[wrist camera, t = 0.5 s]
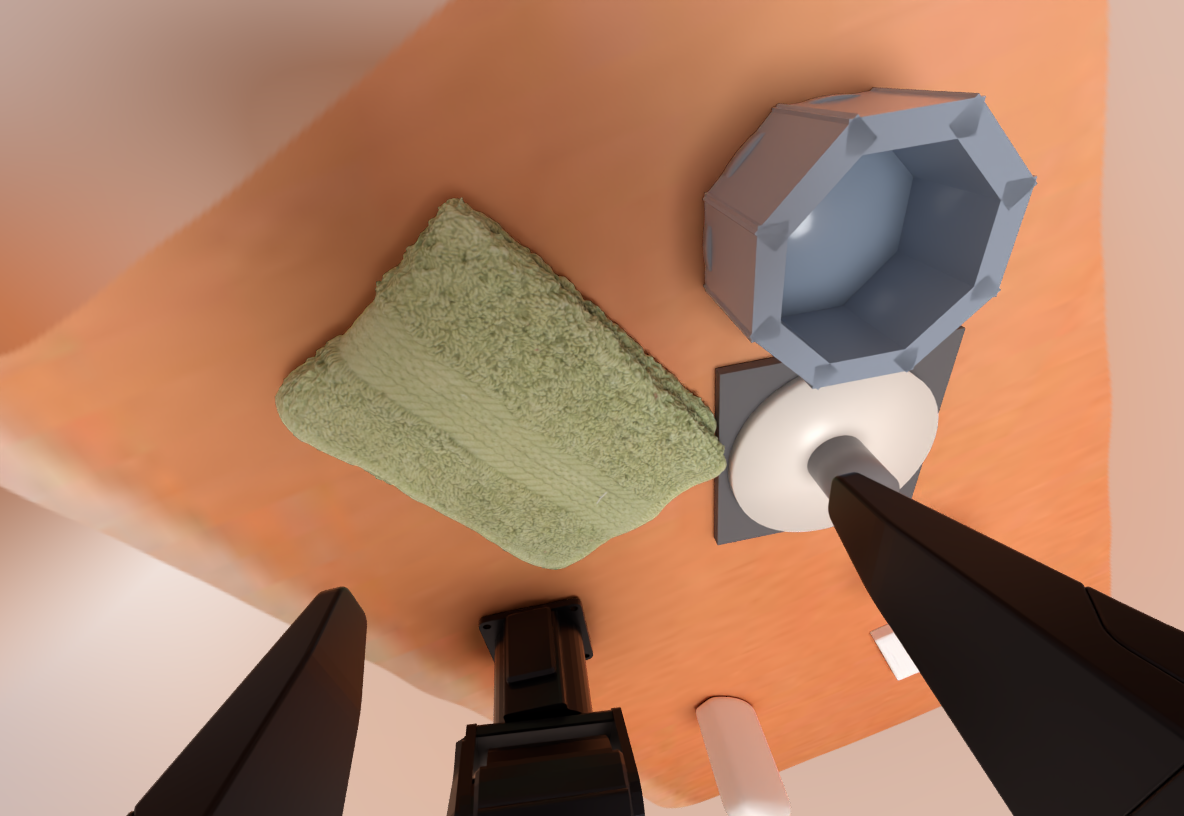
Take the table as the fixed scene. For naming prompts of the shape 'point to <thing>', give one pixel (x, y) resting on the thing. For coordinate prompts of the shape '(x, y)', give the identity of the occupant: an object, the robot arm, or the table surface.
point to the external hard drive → (894, 652)
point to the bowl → (864, 228)
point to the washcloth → (502, 399)
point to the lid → (828, 445)
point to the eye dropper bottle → (741, 759)
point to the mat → (753, 385)
